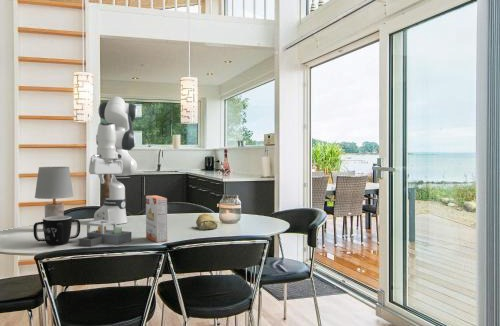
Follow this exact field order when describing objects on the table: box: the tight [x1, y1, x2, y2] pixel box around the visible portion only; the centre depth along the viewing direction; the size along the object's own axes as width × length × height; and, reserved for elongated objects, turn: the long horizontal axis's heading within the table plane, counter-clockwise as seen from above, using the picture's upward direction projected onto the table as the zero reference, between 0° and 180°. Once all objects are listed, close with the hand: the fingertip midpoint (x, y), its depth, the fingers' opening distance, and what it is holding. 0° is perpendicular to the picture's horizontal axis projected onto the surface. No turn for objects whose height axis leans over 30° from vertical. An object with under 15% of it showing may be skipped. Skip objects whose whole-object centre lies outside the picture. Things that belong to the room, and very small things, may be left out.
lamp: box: [34, 166, 74, 218], centre depth 230 cm, size 19×19×34 cm
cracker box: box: [145, 195, 168, 244], centre depth 206 cm, size 14×6×21 cm, turn 33°
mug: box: [33, 215, 81, 246], centre depth 196 cm, size 16×16×12 cm
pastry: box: [195, 213, 219, 231], centre depth 238 cm, size 14×12×8 cm
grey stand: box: [86, 220, 133, 245], centre depth 204 cm, size 18×10×8 cm, turn 67°
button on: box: [114, 226, 123, 234], centre depth 202 cm, size 4×4×4 cm
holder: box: [78, 236, 103, 247], centre depth 195 cm, size 7×7×3 cm
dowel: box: [102, 165, 110, 199], centre depth 209 cm, size 3×3×16 cm
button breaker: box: [97, 226, 107, 233], centre depth 205 cm, size 4×4×4 cm
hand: (106, 183), depth 209 cm, fingers closed on dowel, 3 cm apart
